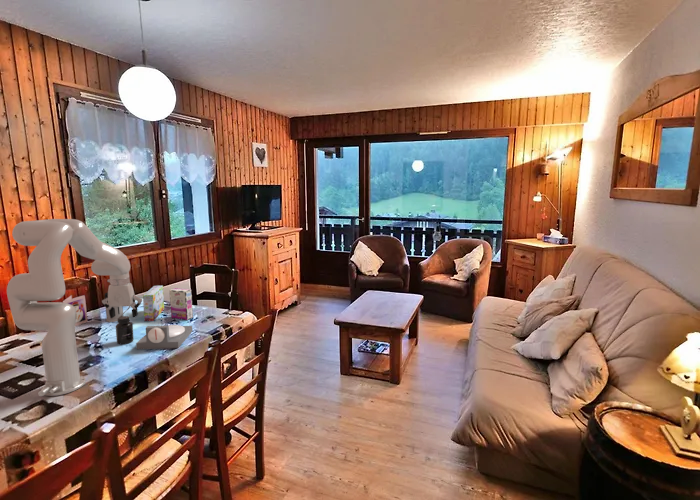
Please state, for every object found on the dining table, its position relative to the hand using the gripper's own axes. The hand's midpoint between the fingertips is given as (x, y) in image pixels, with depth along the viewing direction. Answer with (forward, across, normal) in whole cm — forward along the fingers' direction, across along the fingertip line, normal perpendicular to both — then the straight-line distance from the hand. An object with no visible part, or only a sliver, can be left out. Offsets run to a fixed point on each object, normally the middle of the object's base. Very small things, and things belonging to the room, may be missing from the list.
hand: (124, 316), depth 170 cm
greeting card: (+13, -38, +24) cm, 47 cm away
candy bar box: (+13, +15, +31) cm, 37 cm away
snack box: (+13, -2, +37) cm, 39 cm away
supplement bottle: (+12, 0, -1) cm, 12 cm away
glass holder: (+13, -18, +31) cm, 38 cm away
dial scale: (+12, +18, 0) cm, 22 cm away
